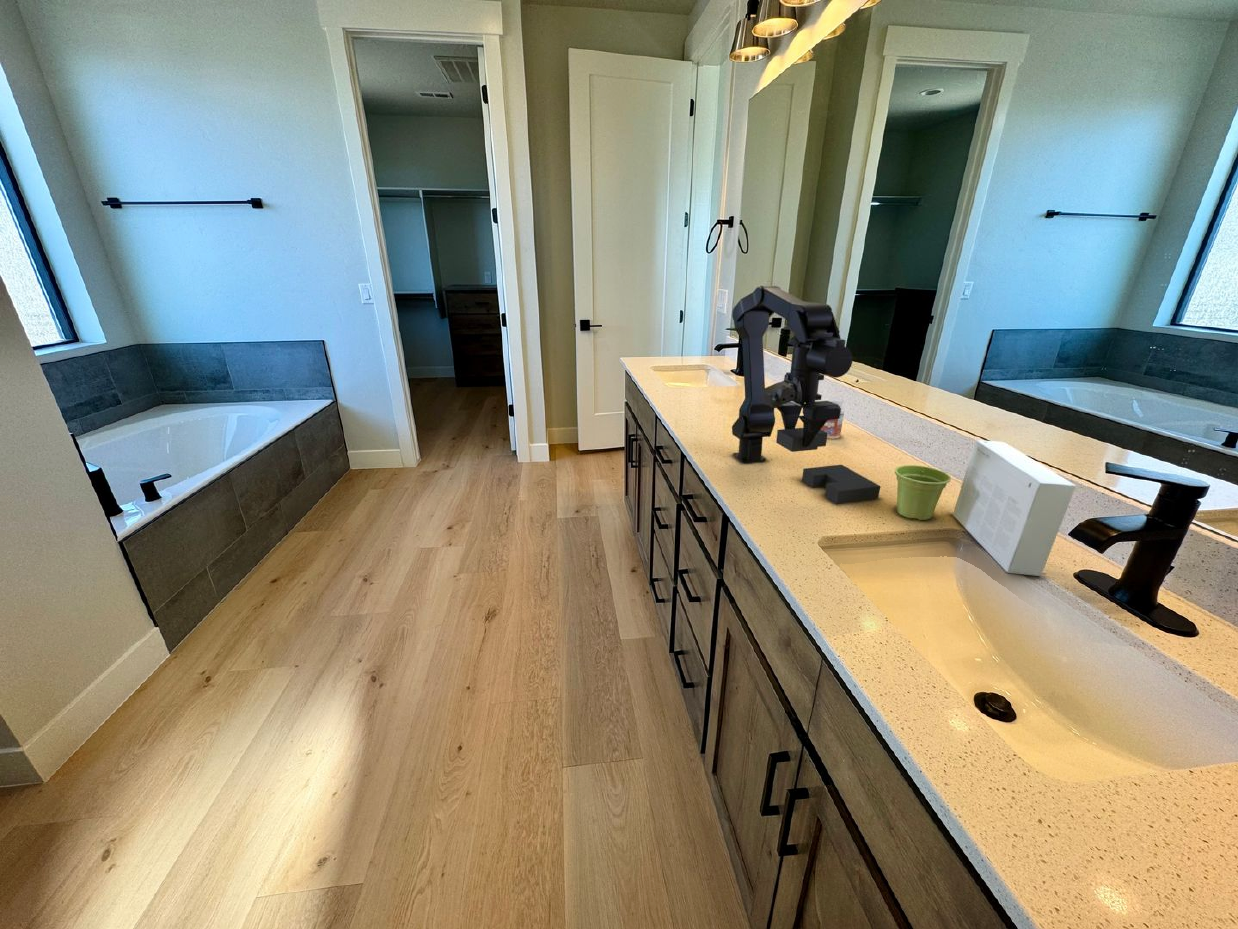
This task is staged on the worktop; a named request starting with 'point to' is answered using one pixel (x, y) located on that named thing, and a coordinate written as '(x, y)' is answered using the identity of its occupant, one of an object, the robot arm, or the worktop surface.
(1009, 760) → the worktop surface
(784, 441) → the black pad
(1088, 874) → the worktop surface
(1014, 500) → the skincare box
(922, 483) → the plant pot
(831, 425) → the pill bottle
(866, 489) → the charcoal pad
